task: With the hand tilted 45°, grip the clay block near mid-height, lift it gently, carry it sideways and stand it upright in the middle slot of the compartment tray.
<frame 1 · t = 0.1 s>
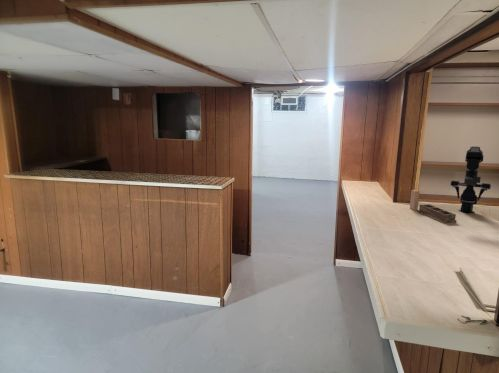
hand: (468, 200, 182), 15 cm above the countertop, fingers open, 9 cm apart
compartment tray: (435, 216, 202), on the countertop
clay block: (413, 209, 220), on the countertop
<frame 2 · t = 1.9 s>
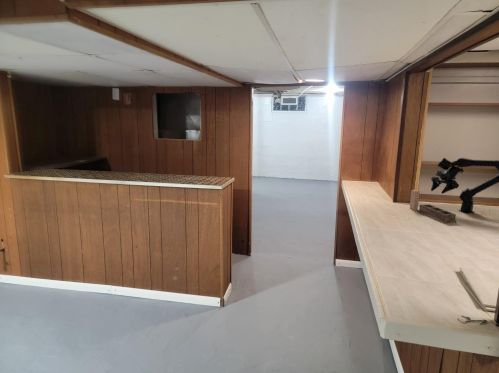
hand: (436, 191, 213), 13 cm above the countertop, fingers open, 9 cm apart
nothing on the countertop moved.
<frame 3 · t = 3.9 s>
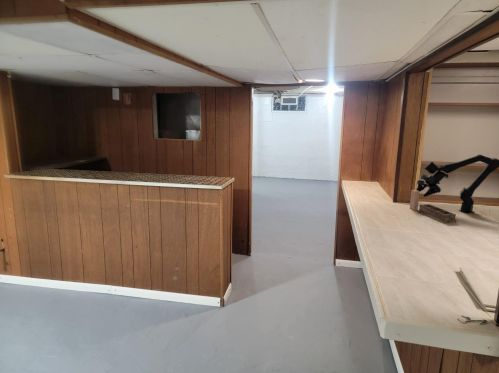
hand: (419, 194, 218), 10 cm above the countertop, fingers open, 9 cm apart
nothing on the countertop moved.
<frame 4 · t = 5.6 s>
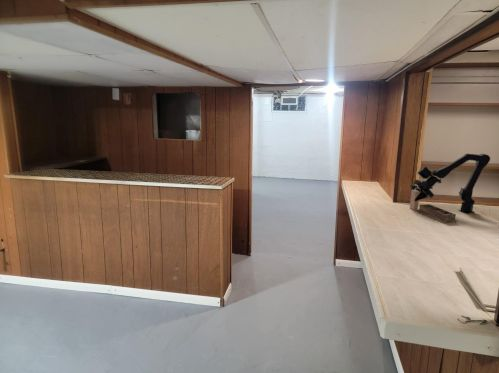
hand: (412, 199, 218), 7 cm above the countertop, fingers closed on clay block, 4 cm apart
clay block: (413, 209, 220), on the countertop, touching gripper
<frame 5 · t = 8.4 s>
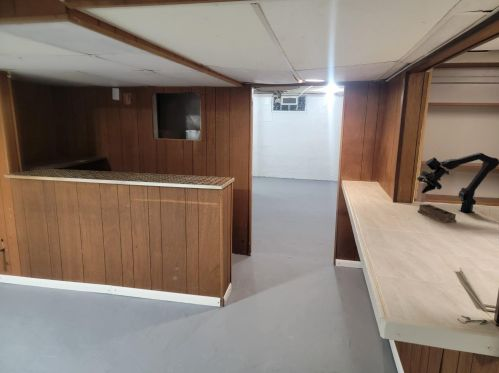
hand: (419, 192, 212), 13 cm above the countertop, fingers closed on clay block, 4 cm apart
clay block: (420, 201, 213), point 7 cm above the countertop, touching gripper
when the fingers open (9 cm above the countertop, at t = 11.3 s): clay block stays where it is, resting on compartment tray.
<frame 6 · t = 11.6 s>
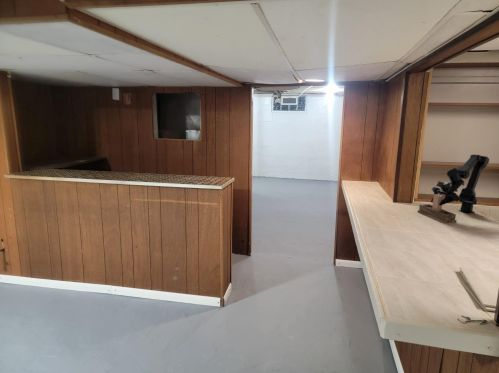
hand: (435, 203, 200), 9 cm above the countertop, fingers open, 7 cm apart
clay block: (436, 215, 202), point 1 cm above the countertop, touching compartment tray
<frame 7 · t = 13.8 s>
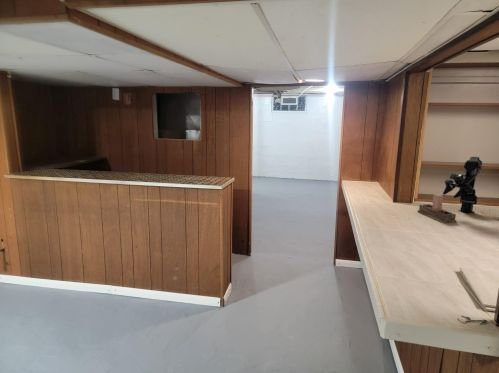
hand: (448, 195, 200), 13 cm above the countertop, fingers open, 9 cm apart
nothing on the countertop moved.
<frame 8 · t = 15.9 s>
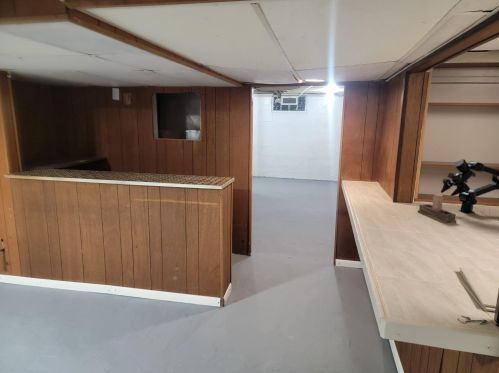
hand: (446, 194, 208), 13 cm above the countertop, fingers open, 9 cm apart
nothing on the countertop moved.
at the end: clay block 0.0 cm off-centre on the compartment tray, point 1.2 cm above the compartment tray's base; clay block tilted 0°; the gripper is holding nothing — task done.
